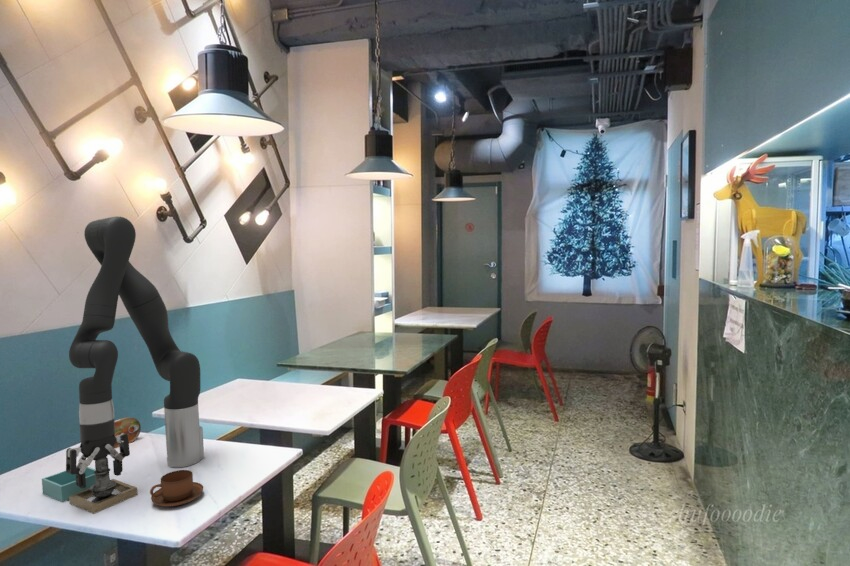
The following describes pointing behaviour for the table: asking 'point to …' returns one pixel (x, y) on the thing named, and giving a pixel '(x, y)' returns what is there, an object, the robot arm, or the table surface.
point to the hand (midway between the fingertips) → (100, 481)
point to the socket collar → (91, 507)
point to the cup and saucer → (176, 489)
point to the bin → (66, 484)
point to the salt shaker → (102, 481)
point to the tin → (127, 429)
